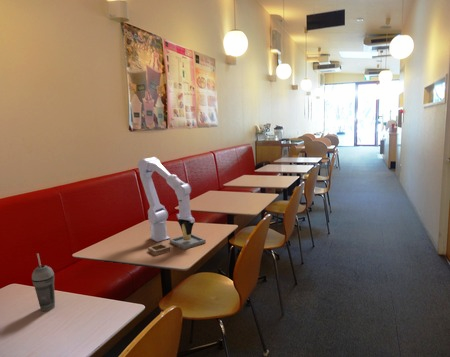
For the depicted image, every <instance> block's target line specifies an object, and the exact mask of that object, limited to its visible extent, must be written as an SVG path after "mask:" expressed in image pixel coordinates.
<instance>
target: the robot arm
mask: <svg viewBox="0 0 450 357" xmlns="http://www.w3.org/2000/svg"><path fill="white" fill-rule="evenodd" d="M137 167H138V172H139V177H140V180H141V183H142V186H143V189H144V190H143V191H144V193H145V196H146V199H147V201H148V204H149V209H148V210H147V215H148V217H147V218H148V221H149V223H150V225H149V229H150V236H149V238H150V239H151V240H153V241H155V242H157V243H158V242H161V241H165V240H168V239H169V240H170V239H171V237H170V236H168V232H167V231H168V230H167V219H168V217H169V213H168V211H167V209H166V208H165V205H163V204H161V203H160V199H159V196H158V193H157V190H156V188H155V184H154V181H153V177H152V175H153V173H154V172H157V174H159V175H160V176H161V177H163V178H164V179H165V182H166V183H167V185H169V187H171V189H173V190H174V192H175V193H174V194H175V195H176V198H177V200H178V212H179V213H176V218H177V223H178V224H179V227H180V229H181V231H182V224H184V225H185V228H186V233H187V235H190V234H192V230H193V227H194V225H195V222H196V221H195V218H194V217H193V215H192V212H191V211H192V210H191V200H190V198H191V196H190V194H191V192H192V187H191V185H190V184H189V183H188V182H186V183H185V182H184V181H183V180H181V179H180V178H179V177H178V175H177V174H173V173H172V174H171V173H170V172H169V171H168V170H167V168H165V167H164V165H162V163H161V161H160V159H158V157H156V156H151V157H146V158H140V159H139V160H138V162H137ZM182 233H183V231H182Z"/></svg>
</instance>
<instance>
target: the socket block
mask: <svg viewBox="0 0 450 357" xmlns="http://www.w3.org/2000/svg"><path fill="white" fill-rule="evenodd" d="M147 251H148V252H149V253H151V254H152V255H154V256H159V255H162V254H165V253H169V252H171V247H170V246H169V245H167V244H165V243H163V242H162V243H159V244H156V245H152V246H148V247H147Z"/></svg>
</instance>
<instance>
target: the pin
mask: <svg viewBox="0 0 450 357" xmlns="http://www.w3.org/2000/svg"><path fill="white" fill-rule="evenodd" d="M181 231H183V232H182V236H183V240H185V241H187V240H191V234H192V233H191V234H190V235H187V233H186V228H185V225H184V224H182V229H181Z"/></svg>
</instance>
